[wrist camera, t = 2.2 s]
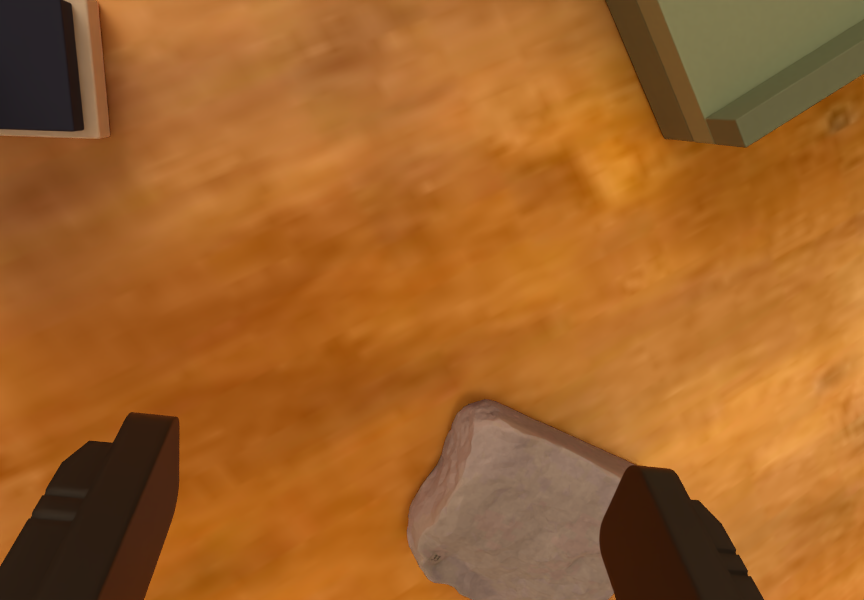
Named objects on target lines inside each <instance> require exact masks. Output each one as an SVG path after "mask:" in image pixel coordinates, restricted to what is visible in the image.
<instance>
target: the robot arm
mask: <svg viewBox="0 0 864 600" xmlns="http://www.w3.org/2000/svg"><path fill="white" fill-rule="evenodd" d="M178 489H179V419H178V417H173V416H164V415H154V414H144V413H134V412H131V413H129V414H128V416H127V417H126V419H125V421H124V422H123V424H122V426H121V428H120V430H119V432H118V434H117V436H116V438H115V440H114V442H113V443H108V442H98V441H88V442H87V443H86V444H85V445H83V446H82V447H81V448H80V449H78V450H77V451H76V452H75V453H73V454H72V455H71V456H70V457H68V458H67V459H66V460H65V461H63V462H62V463H61V465H60V467H59V468H58V470H57V472H56V473H55V475H54V477H53V478H52V480H51V482H50V483H49V485H48V487H47V489H46V492H45V495H42V497H41V499H40V500H39V502H38V504H37V505H36V507H35V509H34V510H33V512H32V517H31V519H28V521H27V522H26V524H25V526H24V527H23V529H22V531H21V532H20V534H19V536H18V537H17V539H16V541H15V542H14V544H13V546H12V548H11V549H10V551H9V553H8V554H7V556H6V558H5V559H4V561H3V563H2V564H1V566H0V600H144V598H145V595H146V592H147V589H148V586H149V584H150V581H151V578H152V575H153V572H154V569H155V567H156V564H157V561H158V558H159V555H160V552H161V550H162V547H163V544H164V541H165V538H166V536H167V533H168V530H169V527H170V524H171V521H172V518H173V515H174V511H175V507H176V502H177V496H178ZM599 545H600V552H601V556H602V559H603V562H604V565H605V568H606V571H607V574H608V577H609V580H610V583H611V585H612V588H613V591H614V594H615V597H616V600H764V599H763V597H762V595H761V594H760V592H759V590H758V588H757V586H756V585H755V583H754V581H753V579H752V577H751V576H748V574H747V572H748V570H747V569H746V567H745V565H744V563H743V561H742V560H741V558H740V556H739V555H736V549H735V547H734V545H733V544H732V542H731V540H730V538H729V536H728V535H727V533H726V531H725V529H724V527H723V526H722V524H721V523H720V522H719V521H718V520H717V519H716V518H715V517H714V516H713V515H712V514H711V513H710V512H709V511H708V510H707V509H706V508H705V506H704V505H703V504H702V503H701V502H700V501H699V500H691V499H690V498H689V496H688V494H687V492H686V490H685V488H684V486H683V484H682V482H681V481H680V479H679V477H678V475H677V474H676V473H675V472H674V471H673V470H671V469H666V468H656V467H646V466H636V465H631V466H629V467H628V468H627V469H626V470H625V472H624V474H623V476H622V478H621V480H620V483H619V485H618V487H617V489H616V491H615V494H614V496H613V498H612V500H611V502H610V505H609V507H608V509H607V511H606V513H605V515H604V518H603V520H602V523H601V527H600V534H599Z"/></svg>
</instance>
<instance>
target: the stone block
mask: <svg viewBox="0 0 864 600" xmlns="http://www.w3.org/2000/svg"><path fill="white" fill-rule="evenodd" d="M631 465H634V464H632V463H630V462H628V461H626V460H624V459H622V458H619V457H617V456H615V455H612V454H610V453H608V452H606V451H604V450H602V449H599V448H597V447H595V446H592V445H590V444H588V443H586V442H584V441H582V440H579V439H577V438H575V437H573V436H570V435H568V434H566V433H564V432H562V431H559V430H557V429H555V428H553V427H551V426H548V425H546V424H544V423H542V422H539V421H536V420H534V419H532V418H530V417H528V416H526V415H524V414H522V413H519V412H517V411H515V410H513V409H511V408H509V407H507V406H504V405H502V404H500V403H498V402H496V401H492V400H487V399H484V400H481V401H478V402H475V403H471V404H468V405H466V406H465V407H463V409H462V410H460V411H459V412H458V413H457V415H456V417H455V419H454V421H453V424H452V427H451V430H450V431H449V433H448V435H447V437H446V440H445V443H444V447H443V451H442V455H441V457H440V460H439V462H438V464H437V466H436V467H435V468H434V469H433V471H432V472H431V473H430V475H429V476H428V477H427V479H426V480H425V482H424V483H423V484H422V486H421V487H420V489H419V491H418V493H417V494H416V496H415V498H414V499H413V501H412V503H411V505H410V508H409V515H408V518H409V521H408V528H407V538H408V543H409V547H410V549H411V551H412V553H413V555H414V557H415V559H416V560H417V563H418V565H419V567H420V568H421V569H422V571H423V572H424V574H425V576H426V577H427V578H428V579H429V580H430V581H432V582H434V583H441V584H448V585H450V586H452V587H455V589H456V590H457V591H458V592H459V593H460V594H461V595H463V596H465V597H468V598H470V599H472V600H608V599H609V598H610V597H611V596H612V595H613V594H614V591H613V588H612V585H611V583H610V580H609V577H608V574H607V571H606V568H605V565H604V562H603V559H602V556H601V552H600V545H599V534H600V527H601V523H602V520H603V518H604V515H605V513H606V511H607V509H608V507H609V505H610V502H611V500H612V498H613V496H614V494H615V491H616V489H617V487H618V485H619V483H620V480H621V478H622V476H623V474H624V472H625V470H626V469H627V468H628V467H629V466H631ZM636 466H637V465H636Z"/></svg>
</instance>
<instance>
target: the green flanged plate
mask: <svg viewBox="0 0 864 600" xmlns="http://www.w3.org/2000/svg"><path fill="white" fill-rule="evenodd" d="M606 2H607V5H608V7H609V9H610V12H611V14H612V16H613V19H614V21H615V23H616V26H617V28H618V31H619V33H620V35H621V38H622V40H623V42H624V45H625V47H626V49H627V52H628V54H629V56H630V59H631V61H632V63H633V66H634V68H635V71H636V73H637V75H638V78H639V80H640V82H641V85H642V87H643V89H644V92H645V94H646V96H647V99H648V101H649V103H650V106H651V108H652V111H653V113H654V115H655V118H656V120H657V122H658V125H659V127H660V129H661V132H662V134H663V136H664V138H665V139H672V140H682V141H692V142H698V143H708V144H718V145H727V146H737V147H748V146H749V145H751V144H752V143H754V142H756V141H757V140H759V139H760V138H762V137H764V136H765V135H767V134H768V133H770V132H772V131H773V130H775V129H776V128H778V127H779V126H781V125H783V124H784V123H786V122H787V121H789V120H791V119H792V118H794V117H795V116H797V115H799V114H800V113H802V112H803V111H805V110H807V109H808V108H810V107H811V106H813V105H815V104H816V103H818V102H819V101H821V100H823V99H824V98H826V97H827V96H829V95H830V94H832V93H834V92H835V91H837V90H838V89H840V88H842V87H843V86H845V85H846V84H848V83H850V82H851V81H853V80H854V79H856V78H858V77H859V76H861V75H862V74H864V0H606Z"/></svg>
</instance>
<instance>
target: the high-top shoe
mask: <svg viewBox="0 0 864 600" xmlns="http://www.w3.org/2000/svg"><path fill="white" fill-rule="evenodd" d="M0 136H26V137H55V138H84V139H101V138H106V137H110V127H109V116H108V105H107V94H106V83H105V72H104V61H103V50H102V39H101V28H100V17H99V6H98V2H97V1H96V0H0Z"/></svg>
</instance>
